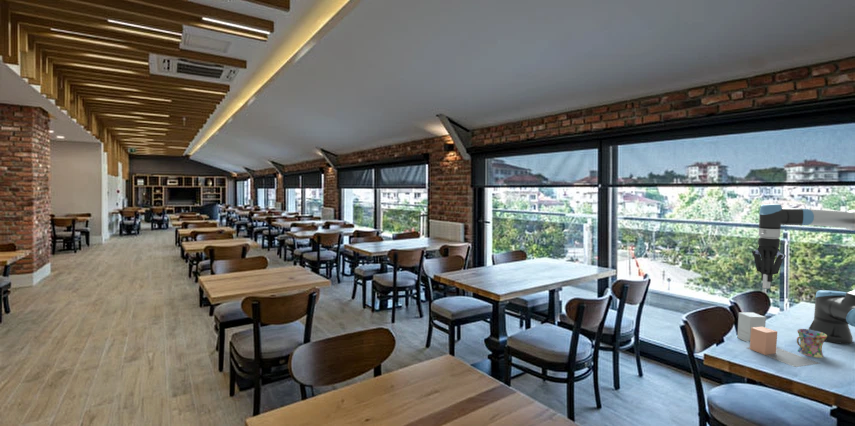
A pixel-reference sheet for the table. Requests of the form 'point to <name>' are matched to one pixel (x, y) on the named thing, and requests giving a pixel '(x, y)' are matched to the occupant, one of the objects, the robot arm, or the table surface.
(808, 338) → the mug
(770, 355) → the board
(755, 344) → the peach tan brick
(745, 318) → the supplement box
